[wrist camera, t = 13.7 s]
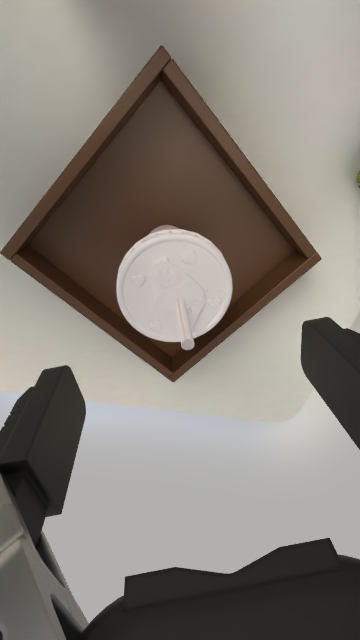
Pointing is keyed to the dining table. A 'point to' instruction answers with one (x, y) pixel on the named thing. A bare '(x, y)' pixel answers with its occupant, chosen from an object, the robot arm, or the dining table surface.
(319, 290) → the dining table surface
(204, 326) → the smoothie
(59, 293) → the tray
